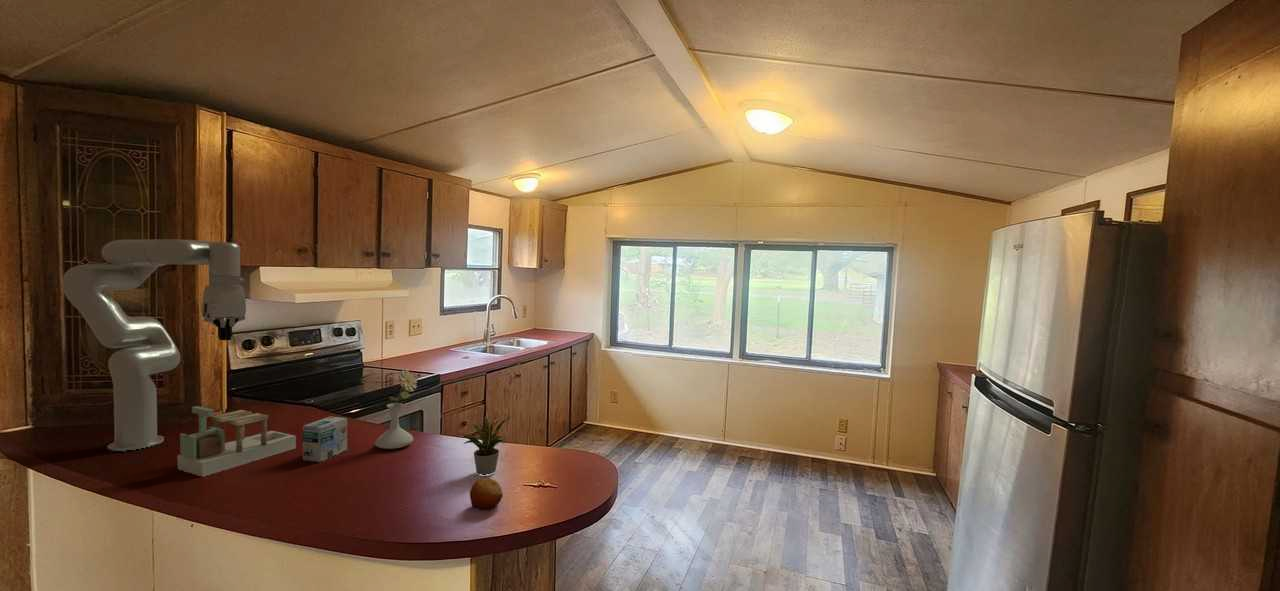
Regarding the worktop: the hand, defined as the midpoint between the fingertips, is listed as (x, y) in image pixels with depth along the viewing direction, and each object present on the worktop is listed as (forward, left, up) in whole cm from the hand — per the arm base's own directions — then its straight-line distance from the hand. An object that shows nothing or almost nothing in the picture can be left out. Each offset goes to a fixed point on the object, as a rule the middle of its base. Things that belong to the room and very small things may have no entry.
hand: (225, 339), depth 154 cm
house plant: (+85, +22, -35) cm, 95 cm away
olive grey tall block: (+12, -12, -31) cm, 35 cm away
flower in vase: (+44, +26, -35) cm, 62 cm away
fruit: (+99, +4, -35) cm, 105 cm away
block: (+12, -11, -31) cm, 35 cm away
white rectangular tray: (+12, -2, -35) cm, 37 cm away
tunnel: (+12, -2, -31) cm, 33 cm away
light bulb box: (+32, +10, -35) cm, 49 cm away
